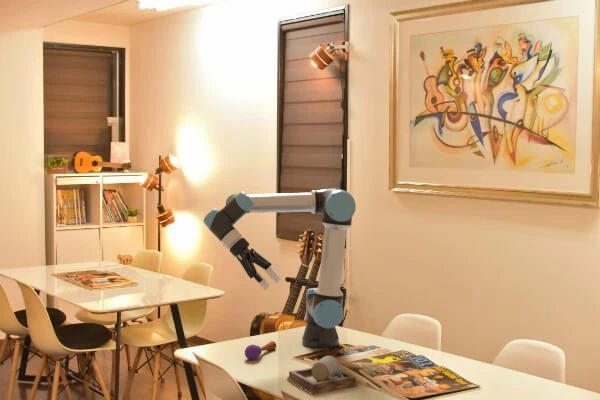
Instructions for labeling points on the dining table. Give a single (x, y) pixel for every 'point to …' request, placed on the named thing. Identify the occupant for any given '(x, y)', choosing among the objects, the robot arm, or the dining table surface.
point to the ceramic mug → (326, 369)
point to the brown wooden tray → (314, 386)
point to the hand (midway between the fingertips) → (273, 284)
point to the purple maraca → (258, 350)
